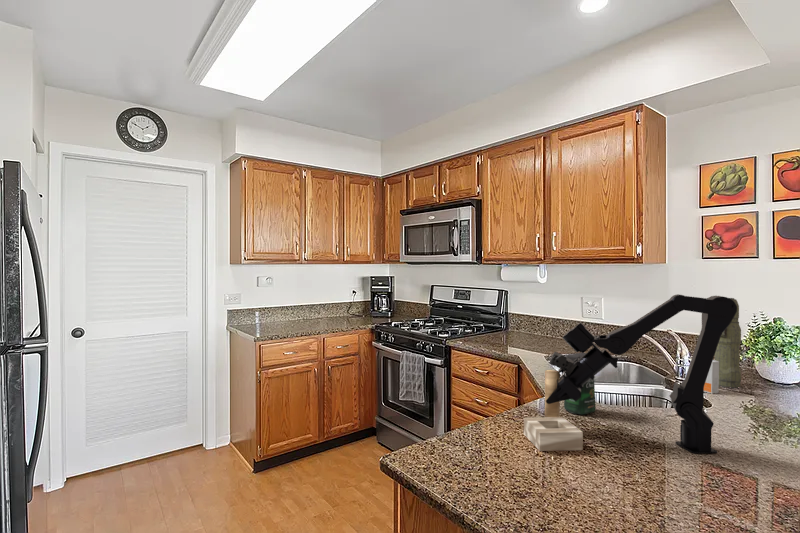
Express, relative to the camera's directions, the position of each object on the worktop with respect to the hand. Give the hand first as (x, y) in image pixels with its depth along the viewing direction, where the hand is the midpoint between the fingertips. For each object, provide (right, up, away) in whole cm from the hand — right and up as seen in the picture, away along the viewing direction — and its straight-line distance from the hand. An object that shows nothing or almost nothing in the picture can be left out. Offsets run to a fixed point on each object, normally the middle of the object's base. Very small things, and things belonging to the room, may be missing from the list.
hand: (547, 400), depth 123 cm
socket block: (-3, -7, -11) cm, 13 cm away
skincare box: (+74, -9, +39) cm, 84 cm away
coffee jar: (+16, -8, +14) cm, 23 cm away
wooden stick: (+1, -8, -1) cm, 8 cm away
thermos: (+88, -9, +48) cm, 101 cm away
